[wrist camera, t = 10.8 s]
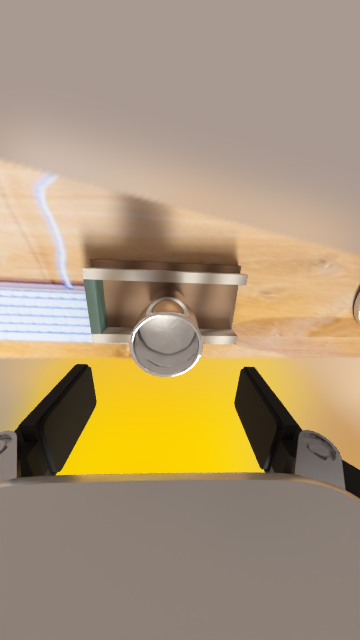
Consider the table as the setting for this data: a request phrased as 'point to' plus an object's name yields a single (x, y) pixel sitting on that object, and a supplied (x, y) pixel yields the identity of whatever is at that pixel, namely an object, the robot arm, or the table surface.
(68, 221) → the table surface
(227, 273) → the track board
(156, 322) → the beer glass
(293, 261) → the table surface
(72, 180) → the table surface
